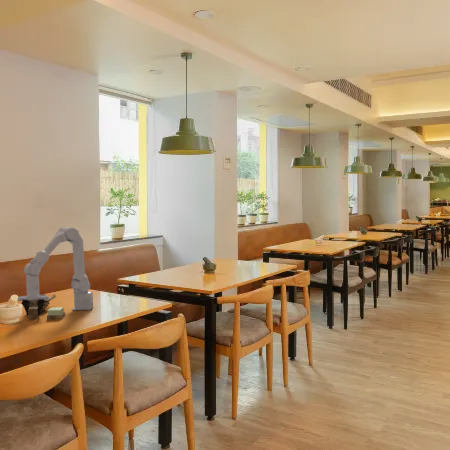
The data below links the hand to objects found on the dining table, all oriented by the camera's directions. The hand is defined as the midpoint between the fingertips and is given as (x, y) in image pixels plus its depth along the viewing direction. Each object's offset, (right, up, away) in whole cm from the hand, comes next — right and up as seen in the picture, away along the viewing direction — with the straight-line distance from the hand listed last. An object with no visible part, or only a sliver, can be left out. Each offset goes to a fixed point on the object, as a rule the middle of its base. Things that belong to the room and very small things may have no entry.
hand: (34, 315), depth 238 cm
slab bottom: (+11, -2, 0) cm, 11 cm away
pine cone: (-2, -1, +17) cm, 17 cm away
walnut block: (0, -2, 0) cm, 2 cm away
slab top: (+11, +1, -1) cm, 11 cm away
